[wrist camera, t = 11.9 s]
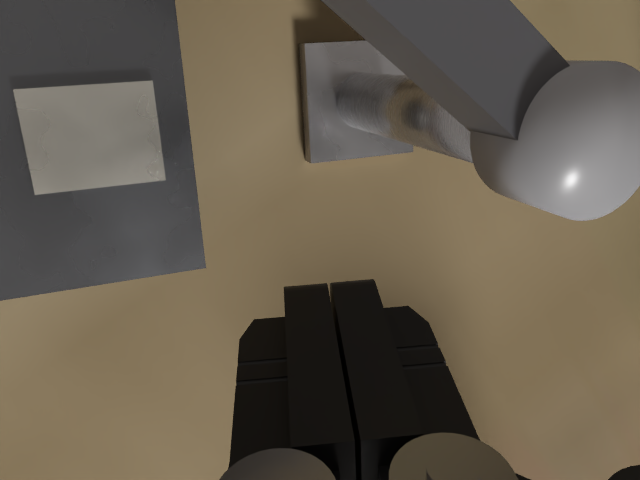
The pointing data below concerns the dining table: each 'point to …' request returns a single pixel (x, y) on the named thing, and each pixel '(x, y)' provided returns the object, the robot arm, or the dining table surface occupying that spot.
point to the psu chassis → (93, 146)
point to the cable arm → (516, 99)
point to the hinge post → (369, 107)
